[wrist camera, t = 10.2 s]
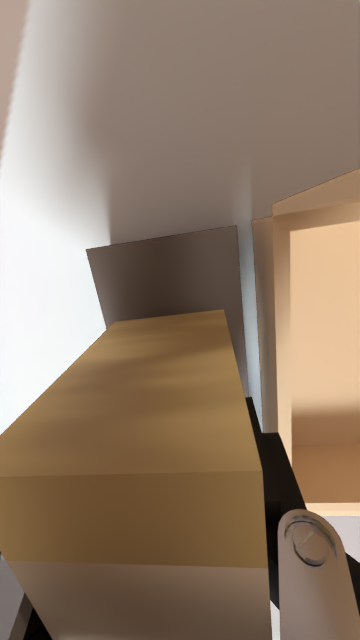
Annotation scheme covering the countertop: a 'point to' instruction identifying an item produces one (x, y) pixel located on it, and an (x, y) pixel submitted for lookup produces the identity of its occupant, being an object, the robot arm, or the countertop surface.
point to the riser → (173, 281)
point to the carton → (313, 338)
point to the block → (140, 491)
